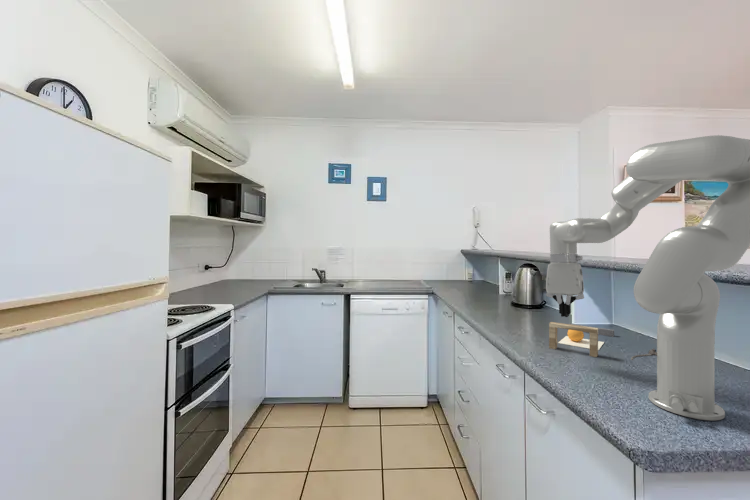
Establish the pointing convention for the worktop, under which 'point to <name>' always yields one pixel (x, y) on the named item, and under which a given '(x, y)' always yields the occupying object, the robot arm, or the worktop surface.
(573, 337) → the ball
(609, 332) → the wall
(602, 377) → the worktop surface
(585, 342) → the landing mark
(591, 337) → the bridge
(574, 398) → the worktop surface
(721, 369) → the worktop surface
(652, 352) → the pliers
